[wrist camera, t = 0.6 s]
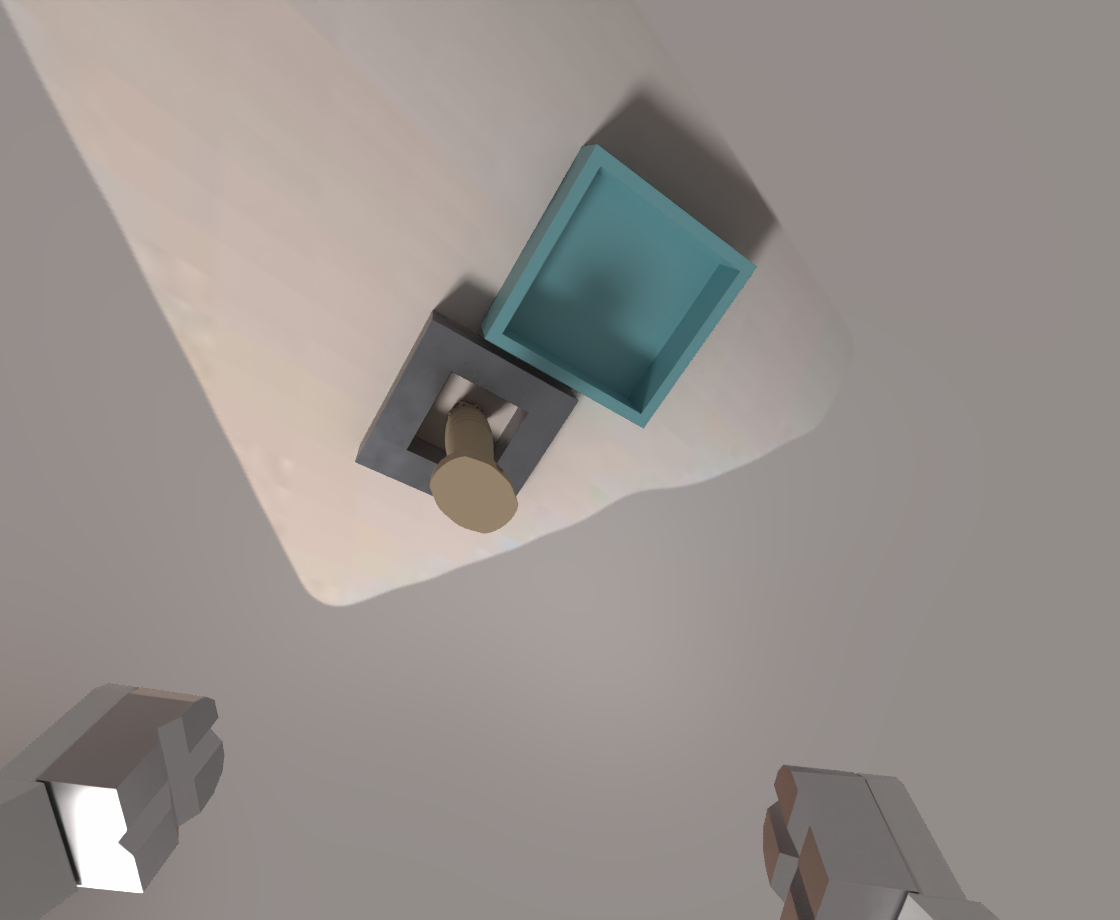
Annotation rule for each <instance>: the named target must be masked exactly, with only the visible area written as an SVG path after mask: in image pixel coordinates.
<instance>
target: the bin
mask: <svg viewBox="0 0 1120 920" xmlns="http://www.w3.org/2000/svg"><path fill="white" fill-rule="evenodd" d="M756 268H757V266H755V265H754V264H753V263H752V262H750V261H749V260H748V259H746V258H745V257H744V256H742V255H741V254H740V253H739V252H737V251H736V250H735V249H733V248H732V247H731V246H729V245H728V244H727V243H725V242H724V241H723V240H722V239H720V238H719V237H718V236H716V235H715V234H714V233H712V232H711V231H710V230H709V229H707V228H706V227H705V226H703V225H702V224H701V223H699V222H698V221H697V220H695V219H694V218H693V217H692V216H690V215H689V214H688V213H686V212H685V211H684V210H682V209H681V208H680V207H679V206H677V205H676V204H675V203H673V202H672V201H671V200H669V199H668V198H667V197H666V196H664V195H663V194H662V193H660V192H659V191H658V190H656V189H655V188H654V187H652V186H651V185H650V184H649V183H647V182H646V181H645V180H643V179H642V178H641V177H639V176H638V175H637V174H636V173H634V172H633V171H632V170H630V169H629V168H628V167H626V166H625V165H624V164H622V163H621V162H620V161H619V160H617V159H616V158H615V157H613V156H612V155H611V154H609V153H608V152H607V151H606V150H604V149H603V148H602V147H600V146H599V145H598V144H594V145H588V146H582V147H581V149H580V151H579V153H578V154H577V156H576V158H575V160H574V161H573V163H572V165H571V167H570V168H569V170H568V172H567V174H566V175H565V177H564V179H563V181H562V182H561V184H560V186H559V188H558V189H557V191H556V193H555V195H554V197H553V198H552V200H551V202H550V204H549V205H548V207H547V209H546V211H545V212H544V214H543V216H542V218H541V219H540V221H539V223H538V225H537V226H536V228H535V230H534V232H533V233H532V235H531V237H530V239H529V240H528V242H527V244H526V246H525V247H524V249H523V251H522V253H521V254H520V256H519V258H518V260H517V261H516V263H515V265H514V267H513V268H512V270H511V272H510V274H509V275H508V277H507V279H506V281H505V282H504V284H503V286H502V288H501V289H500V291H499V293H498V295H497V296H496V298H495V300H494V302H493V303H492V305H491V307H490V309H489V310H488V312H487V314H486V316H485V317H484V319H483V321H482V323H481V327H482V330H483V334H484V338H485V339H486V340H488V341H490V342H491V343H493V344H495V345H497V346H498V347H500V348H502V349H504V350H506V351H507V352H509V353H511V354H513V355H514V356H516V357H518V358H520V359H522V360H523V361H525V362H527V363H529V364H530V365H532V366H534V367H536V368H537V369H539V370H541V371H543V372H545V373H546V374H548V375H550V376H552V377H553V378H555V379H557V380H559V381H560V382H562V383H564V384H566V385H568V386H569V387H571V388H573V389H575V390H576V391H578V392H580V393H582V394H583V395H585V396H587V397H589V398H591V399H592V400H594V401H596V402H598V403H599V404H601V405H603V406H605V407H607V408H608V409H610V410H612V411H614V412H615V413H617V414H619V415H621V416H622V417H624V418H626V419H628V420H630V421H631V422H633V423H635V424H637V425H638V426H640V427H642V428H644V427H645V426H646V424H647V423H648V421H649V420H650V418H651V417H652V416H653V414H654V413H655V411H656V410H657V409H658V407H659V406H660V404H661V403H662V401H663V400H664V399H665V397H666V396H667V394H668V393H669V391H670V390H671V389H672V387H673V386H674V384H675V383H676V381H677V380H678V379H679V377H680V376H681V374H682V373H683V372H684V370H685V369H686V367H687V366H688V364H689V363H690V362H691V360H692V359H693V357H694V356H695V354H696V353H697V352H698V350H699V349H700V347H701V346H702V344H703V343H704V342H705V340H706V339H707V337H708V336H709V334H710V333H711V332H712V330H713V329H714V327H715V326H716V325H717V323H718V322H719V320H720V319H721V317H722V316H723V315H724V313H725V312H726V310H727V309H728V307H729V306H730V305H731V303H732V302H733V300H734V299H735V297H736V296H737V295H738V293H739V292H740V290H741V289H742V288H743V286H744V285H745V283H746V282H747V280H748V279H749V278H750V276H751V275H752V273H753V272H754V270H755V269H756Z"/></svg>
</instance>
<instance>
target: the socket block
mask: <svg viewBox="0 0 1120 920" xmlns="http://www.w3.org/2000/svg"><path fill="white" fill-rule="evenodd" d="M451 372H453V373H455V374H457V375H459V376H461V377H463V378H465V379H467V380H468V381H470V382H472V383H474V384H476V385H478V386H480V387H482V388H484V389H485V390H487V391H489V392H491V393H493V394H495V395H497V396H499V397H501V398H503V399H504V400H506V401H508V402H510V403H512V404H514V405H516V406H518V409H517V411H516V412H515V414H514V415H513V417H512V419H511V420H510V422H509V423H508V425H507V427H506V428H505V430H504V432H503V433H502V435H501V436H500V438H499V440H498V441H497V443H496V444H495V446H494V448H493V451H494V461H495V462H496V463H497V464H499V466H500V467H501V468H502V469H503V470H504V471H505V473H506V474H507V475H508V477H509V479H510V481H511V483H512V486H513V489H514V492H515V495H516V496H517V494H518V493H519V491H520V490H521V488H522V486H523V485H524V483H525V482H526V480H527V479H528V477H529V476H530V474H531V473H532V471H533V470H534V468H535V467H536V465H537V463H538V462H539V460H540V459H541V457H542V456H543V454H544V453H545V451H546V450H547V448H548V447H549V445H550V444H551V442H552V441H553V439H554V437H555V436H556V434H557V433H558V431H559V430H560V428H561V427H562V425H563V424H564V422H565V421H566V419H567V418H568V416H569V414H570V413H571V411H572V410H573V408H574V407H575V405H576V404H577V402H578V399H577V398H576V396H575V394H574V393H573V391H572V389H571V388H570V387H568V386H566V385H565V384H563V383H561V382H559V381H558V380H556V379H554V378H552V377H550V376H549V375H547V374H545V373H543V372H542V371H540V370H538V369H536V368H535V367H533V366H531V365H529V364H527V363H526V362H524V361H522V360H520V359H519V358H517V357H515V356H513V355H511V354H510V353H508V352H506V351H504V350H503V349H501V348H499V347H497V346H496V345H494V344H492V343H490V342H488V341H487V340H485V339H483V338H481V337H480V336H478V335H476V334H474V333H472V332H471V331H469V330H467V329H465V328H464V327H462V326H460V325H458V324H457V323H455V322H453V321H451V320H449V319H448V318H446V317H444V316H442V315H441V314H439V313H437V312H435V311H432V313H431V314H430V316H429V318H428V320H427V322H426V324H425V326H424V327H423V329H422V331H421V333H420V335H419V337H418V339H417V340H416V342H415V344H414V346H413V348H412V350H411V352H410V353H409V355H408V357H407V359H406V361H405V363H404V364H403V366H402V368H401V370H400V372H399V374H398V376H397V377H396V379H395V381H394V383H393V385H392V387H391V389H390V390H389V392H388V394H387V396H386V398H385V400H384V402H383V403H382V405H381V407H380V409H379V411H378V413H377V415H376V416H375V418H374V420H373V422H372V424H371V426H370V427H369V429H368V431H367V433H366V435H365V437H364V439H363V440H362V442H361V444H360V447H359V450H358V454H357V457H356V460H355V462H356V463H358V464H361V465H363V466H365V467H368V468H370V469H372V470H375V471H377V472H379V473H381V474H384V475H386V476H388V477H391V478H393V479H395V480H397V481H400V482H402V483H404V484H407V485H409V486H411V487H414V488H416V489H418V490H420V491H423V492H425V493H427V494H430V495H432V496H433V494H432V491H431V489H430V479H431V475H432V472H433V470H434V469H435V467H436V466H437V464H438V463H439V462H440V461H441V460H442V459H444V458H445V457H446V456H447V453H446V451H444V450H442V449H440V448H438V447H435V446H433V445H431V444H429V443H427V442H425V441H423V440H421V439H418V438H416V437H414V436H415V434H416V432H417V431H418V429H419V427H420V425H421V424H422V422H423V420H424V418H425V417H426V415H427V413H428V411H429V410H430V408H431V406H432V404H433V403H434V401H435V399H436V397H437V395H438V394H439V392H440V390H441V388H442V387H443V385H444V383H445V381H446V380H447V378H448V376H449V374H450V373H451Z"/></svg>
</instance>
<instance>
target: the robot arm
mask: <svg viewBox="0 0 1120 920" xmlns="http://www.w3.org/2000/svg"><path fill="white" fill-rule="evenodd" d="M217 719H218V714H217V709H216V705H215V701H214V700H213V699H210V698H208V697H204V696H197V695H190V694H183V693H176V692H169V691H163V690H156V689H149V688H143V687H141V688H139V687H131V686H125V685H118V684H111V683H108V684H106V685H103V686H100V687H97V688H95V689H94V690H92V691H91V692H90V693H89V694H88V695H87V696H85V697H84V699H82V700H81V701H80V702H78V703H77V704H76V705H75V706H74V707H73V708H72V709H70V710H69V711H68V712H67V713H66V714H65V715H63V716H62V717H61V718H60V719H59V720H58V721H57V722H55V723H54V724H53V725H52V726H51V727H50V728H48V729H47V730H46V731H45V732H44V733H43V734H42V735H40V736H39V737H38V738H37V739H36V740H35V741H33V742H32V743H31V744H30V745H29V746H28V747H26V748H25V749H24V750H23V751H22V752H21V753H20V754H18V755H17V756H16V757H15V758H14V759H13V760H12V761H10V762H9V763H8V764H7V765H6V766H5V767H3V768H2V769H1V770H0V920H38V919H40V918H41V917H43V916H44V915H45V914H47V913H48V912H49V911H51V910H52V909H53V908H55V907H56V906H58V905H59V904H60V903H62V902H63V901H64V900H66V899H67V898H68V897H70V896H71V895H73V894H74V893H75V892H77V890H78V888H77V886H79V887H90V888H99V889H109V890H119V891H128V892H139V893H143V892H144V891H145V889H146V888H147V886H148V885H149V884H150V882H151V881H152V880H153V878H154V877H155V875H156V874H157V873H158V871H159V870H160V868H161V867H162V866H163V864H164V863H165V861H166V860H167V859H168V857H169V856H170V854H171V853H172V851H173V850H174V849H175V848H176V846H177V845H178V837H179V836H178V835H179V833H178V831H179V826H180V825H182V824H183V823H185V822H186V821H188V820H190V819H191V818H193V817H194V816H196V815H198V814H199V813H200V812H201V811H202V809H203V808H204V807H205V805H206V804H207V802H208V801H209V799H210V797H211V796H212V795H213V793H214V791H215V788H216V786H217V783H218V781H219V778H220V776H221V773H222V770H223V762H224V749H223V743H222V741H221V740H220V739H219V738H218V736H217V735H216V734H215V733H214V732H213V731H212V730H211V729H210V728H211V727H212V725H213V724H214V723H215V721H216V720H217ZM774 786H775V790H776V793H777V796H778V801H777V802H776V803H774V804H773V805H772V806H770V807H769V808H768V809H767V813H766V818H765V822H764V826H763V852H764V858H765V866H766V870H767V875H768V879H769V883H770V886H771V887H772V889H773V890H774V891H775V892H776V893H777V895H778V896H779V897H780V898H781V899H782V900H783V902H784V903H785V905H784V908H783V911H782V915H781V918H780V920H1000V919H999V918H998V917H996V916H995V915H994V914H993V913H992V912H991V911H990V910H988V909H987V908H986V907H985V906H984V905H983V904H981V903H980V902H975V901H969V900H967V898H966V896H965V895H964V893H963V891H962V889H961V887H960V886H959V884H958V882H957V880H956V878H955V877H954V875H953V873H952V871H951V869H950V867H949V866H948V864H947V862H946V860H945V858H944V857H943V855H942V853H941V851H940V849H939V848H938V846H937V844H936V842H935V840H934V838H933V837H932V835H931V833H930V831H929V830H928V828H927V826H926V824H925V822H924V821H923V819H922V817H921V815H920V813H919V812H918V810H917V808H916V806H915V804H914V802H913V801H912V799H911V797H910V795H909V793H908V792H907V790H906V788H905V786H904V784H903V783H902V782H901V781H899V780H898V779H897V778H896V777H890V776H881V775H872V774H863V773H857V774H855V773H853V772H846V771H836V770H827V769H818V768H807V767H799V766H790V765H783V766H782V767H781V768H780V770H779V771H778V773H777V777H776V780H775V783H774Z"/></svg>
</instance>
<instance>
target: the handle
mask: <svg viewBox="0 0 1120 920" xmlns="http://www.w3.org/2000/svg"><path fill="white" fill-rule="evenodd" d="M445 447H446V453H447V456H446V457H445V458H444V459H442V460H441V461H440V462H439V463H438V464H437V466H436V467H435V469H434V470H433V472H432V475H431V479H430V489H431V491H432V494H433V496H434V499H435V501H436V503H437V505H438V507H439V508H440V510H441V511H442V512H443V513H444V514H445V515H447V516H448V517H449V518H450V519H451V520H453V521H454V522H455V523H456V524H458V525H459V526H461V527H464V528H466V529H470V530H473V531H477V532H480V533H489V532H493V531H495V530H497V529H499V528H501V527H502V526H504V525H505V524H507V523H508V522H509V521H510V520H511V519H512V517H513V516H514V515H515V513H516V510H517V507H518V502H517V499H516V495H515V492H514V489H513V486H512V483H511V481H510V479H509V477H508V475H507V474H506V473H505V471H504V470H503V469H502V468H501V467H500V466H499V464H497V463H496V462H495V461H494V451H493V437H492V433H491V429H490V426H489V423H488V421H487V419H486V417H485V416H484V414H483V410H482V408H481V407H480V406H479V405H478V404H468V403H466V402H465V401H461V402H459V404H458V405H457V407H455V408H454V409H451V410H450V412H449V415H448V421H447V424H446V429H445Z"/></svg>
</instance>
